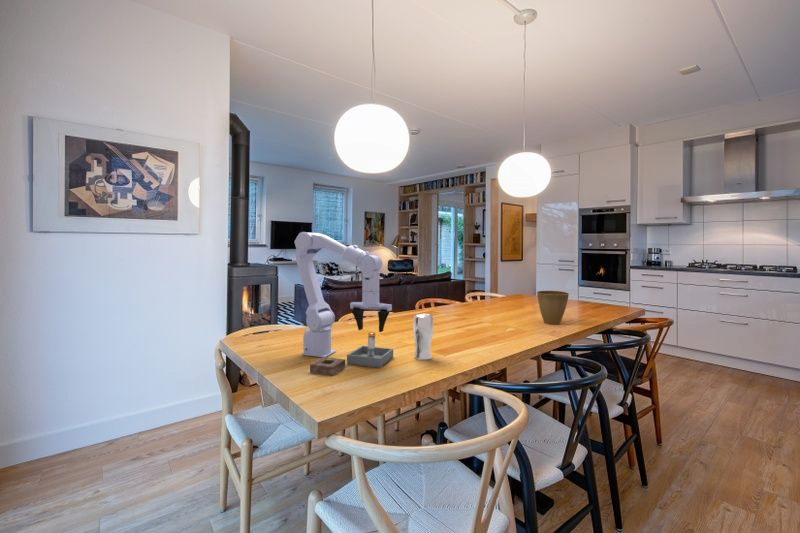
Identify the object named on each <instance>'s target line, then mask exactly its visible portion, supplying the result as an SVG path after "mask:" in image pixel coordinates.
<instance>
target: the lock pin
mask: <svg viewBox="0 0 800 533" xmlns="http://www.w3.org/2000/svg"><path fill="white" fill-rule="evenodd" d="M367 346H368V350H367V357H374V352H375V347H376V332H372V331H369V332H368V333H367Z"/></svg>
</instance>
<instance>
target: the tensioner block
mask: <svg viewBox="0 0 800 533" xmlns="http://www.w3.org/2000/svg"><path fill="white" fill-rule="evenodd" d="M345 368H346V359H344V358H337V357H336V358H334V357H329V356H327V357H320V358H319V359H317V360H315V361H314V362H311V363H309V372H310V373H312V374H319V375H327V376H335V375H336V374H337V373H338V372H340V371H342V370H344V369H345Z"/></svg>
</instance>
